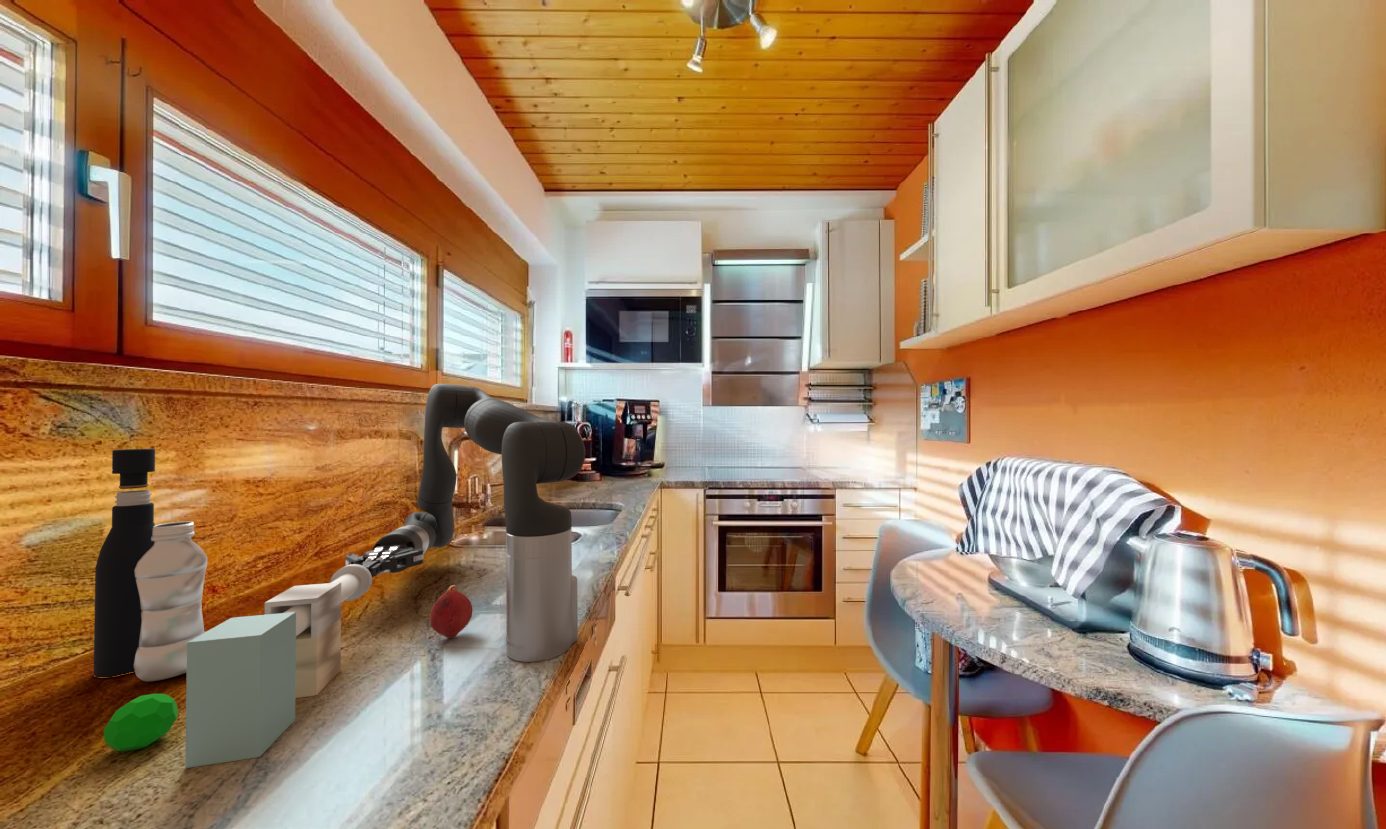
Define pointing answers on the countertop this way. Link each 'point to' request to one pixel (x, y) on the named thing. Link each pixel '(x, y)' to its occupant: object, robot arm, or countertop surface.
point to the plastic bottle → (169, 601)
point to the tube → (352, 587)
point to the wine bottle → (123, 566)
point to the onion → (451, 613)
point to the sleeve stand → (314, 634)
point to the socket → (240, 688)
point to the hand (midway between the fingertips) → (363, 574)
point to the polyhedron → (140, 722)
